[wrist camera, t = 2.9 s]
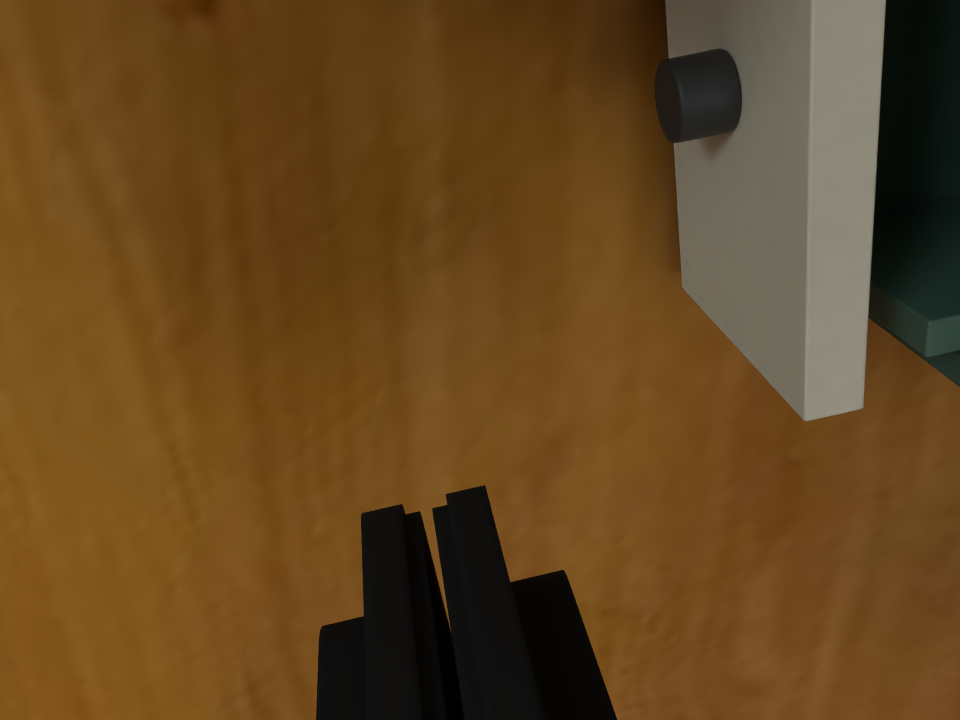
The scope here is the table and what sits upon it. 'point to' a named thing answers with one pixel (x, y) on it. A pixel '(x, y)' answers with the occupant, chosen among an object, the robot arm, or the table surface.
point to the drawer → (817, 180)
